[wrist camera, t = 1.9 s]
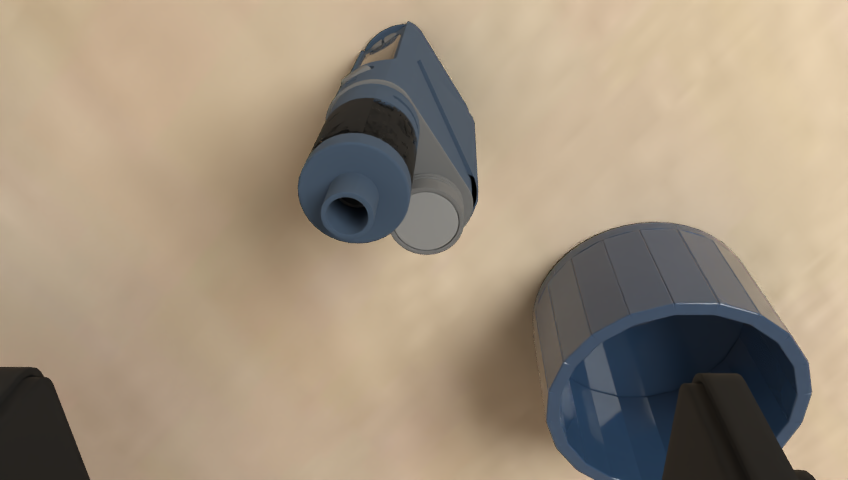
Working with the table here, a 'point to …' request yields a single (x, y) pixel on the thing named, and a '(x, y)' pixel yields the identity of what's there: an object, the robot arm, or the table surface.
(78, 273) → the table surface
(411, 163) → the vaping device
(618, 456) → the pen cup
